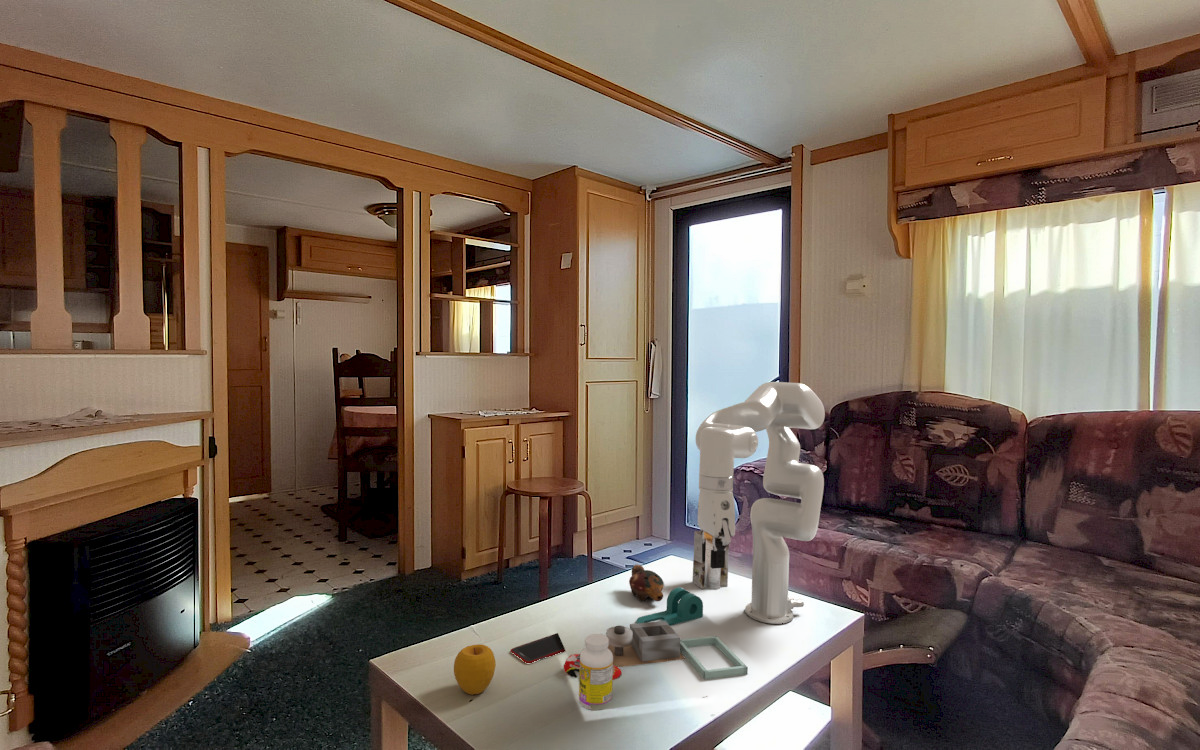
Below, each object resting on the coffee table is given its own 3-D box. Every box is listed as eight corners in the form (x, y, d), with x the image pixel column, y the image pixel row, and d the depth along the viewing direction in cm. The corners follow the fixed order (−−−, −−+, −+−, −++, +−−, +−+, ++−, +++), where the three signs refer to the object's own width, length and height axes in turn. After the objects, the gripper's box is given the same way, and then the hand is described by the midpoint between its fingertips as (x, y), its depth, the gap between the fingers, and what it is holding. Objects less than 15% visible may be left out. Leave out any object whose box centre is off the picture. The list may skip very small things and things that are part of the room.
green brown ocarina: (643, 585, 183) (646, 560, 182) (674, 607, 170) (677, 579, 169) (617, 589, 178) (619, 563, 178) (646, 612, 165) (649, 583, 165)
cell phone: (579, 647, 143) (579, 643, 143) (527, 666, 134) (527, 662, 134) (559, 635, 149) (559, 631, 149) (508, 653, 140) (509, 649, 140)
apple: (473, 674, 129) (474, 633, 129) (504, 686, 125) (505, 644, 125) (444, 693, 122) (445, 650, 122) (476, 706, 118) (477, 661, 118)
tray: (715, 648, 144) (716, 635, 144) (747, 680, 130) (747, 667, 130) (677, 652, 141) (677, 640, 141) (704, 686, 127) (705, 672, 127)
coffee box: (702, 589, 181) (703, 536, 181) (691, 581, 187) (693, 530, 187) (728, 586, 184) (730, 534, 184) (717, 579, 190) (719, 528, 190)
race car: (626, 679, 130) (626, 661, 130) (615, 691, 125) (616, 672, 125) (572, 663, 136) (573, 646, 135) (560, 674, 131) (561, 656, 131)
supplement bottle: (577, 693, 123) (579, 631, 123) (610, 692, 124) (611, 630, 123) (579, 712, 116) (581, 647, 116) (613, 711, 117) (615, 646, 117)
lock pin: (716, 582, 137) (718, 529, 137) (725, 589, 133) (727, 535, 133) (699, 584, 136) (700, 530, 136) (707, 591, 132) (709, 536, 132)
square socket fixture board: (667, 643, 146) (668, 612, 146) (685, 665, 135) (686, 632, 135) (599, 650, 142) (600, 618, 141) (612, 674, 131) (613, 640, 131)
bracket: (686, 613, 164) (686, 585, 164) (702, 623, 158) (703, 593, 158) (631, 627, 155) (632, 597, 154) (646, 638, 149) (647, 607, 149)
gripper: (749, 490, 127) (746, 576, 128) (714, 475, 143) (712, 552, 144) (717, 491, 125) (714, 578, 126) (685, 476, 141) (682, 554, 142)
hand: (713, 563), depth 135 cm, fingers closed on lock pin, 3 cm apart
